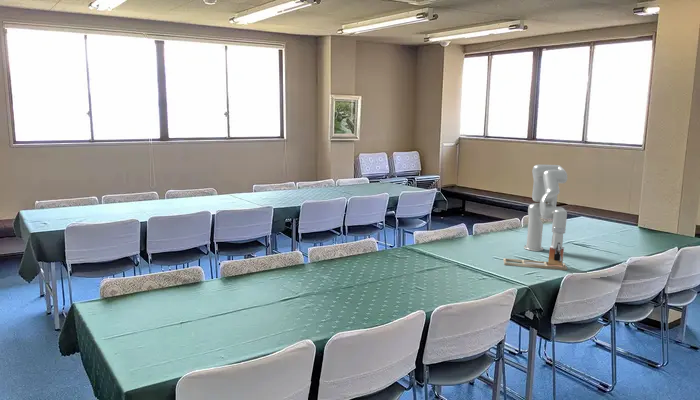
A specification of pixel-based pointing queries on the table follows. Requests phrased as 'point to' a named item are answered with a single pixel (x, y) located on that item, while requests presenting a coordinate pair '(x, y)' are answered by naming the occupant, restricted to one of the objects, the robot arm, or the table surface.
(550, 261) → the small box
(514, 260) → the rail frame
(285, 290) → the table surface
